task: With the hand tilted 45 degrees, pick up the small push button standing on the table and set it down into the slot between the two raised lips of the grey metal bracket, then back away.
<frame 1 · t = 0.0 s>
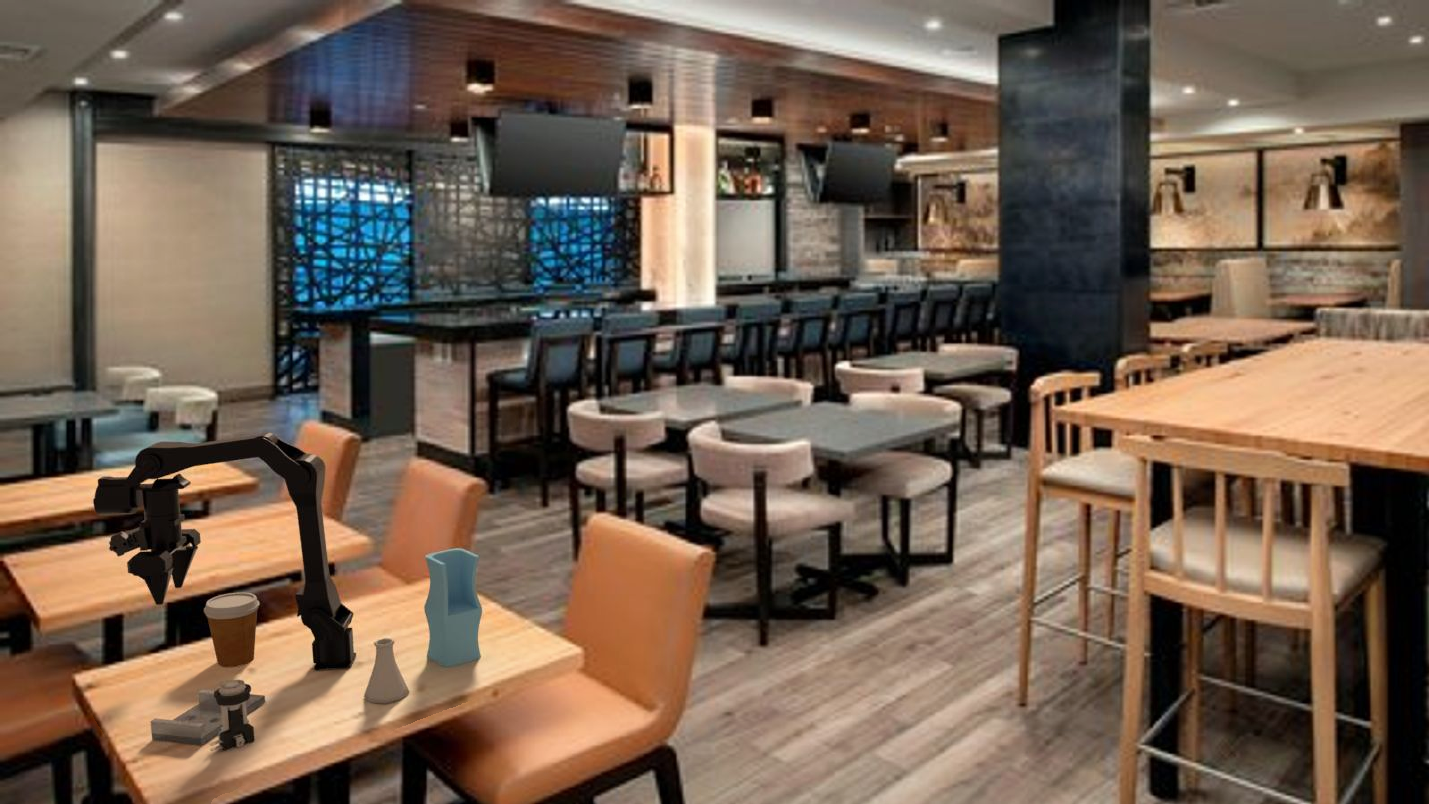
hand: (169, 595, 189), 15 cm above the table, tool pointing down, fingers open, 9 cm apart
disposable coffee cup: (236, 661, 197), on the table
bracket: (196, 730, 169), on the table
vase: (455, 657, 199), on the table
push button: (232, 747, 164), on the table
flask: (386, 697, 182), on the table
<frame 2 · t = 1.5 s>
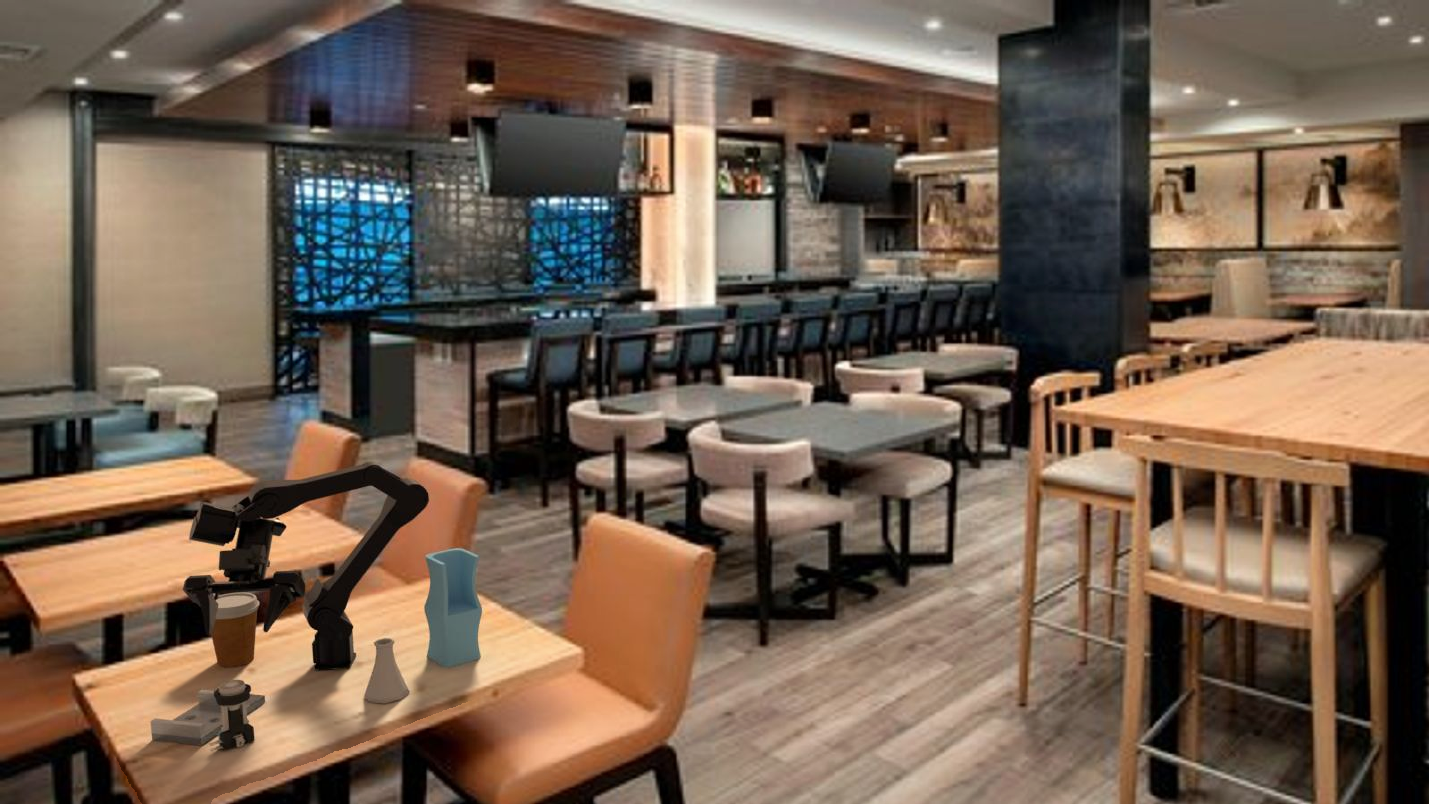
hand: (236, 633, 175), 13 cm above the table, tool tilted 45°, fingers open, 9 cm apart
nothing on the table moved.
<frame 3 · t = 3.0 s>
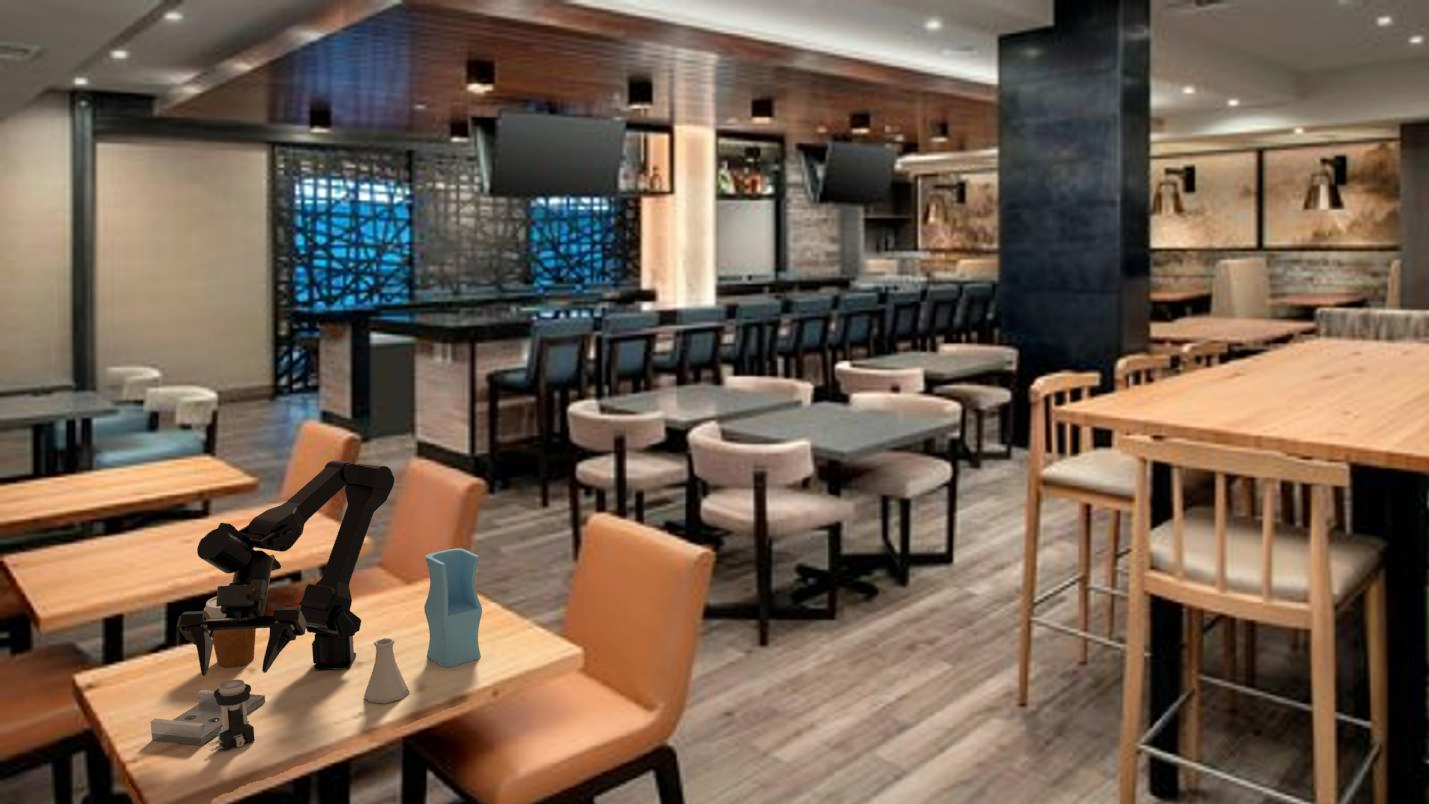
hand: (233, 673, 165), 10 cm above the table, tool tilted 45°, fingers open, 9 cm apart
nothing on the table moved.
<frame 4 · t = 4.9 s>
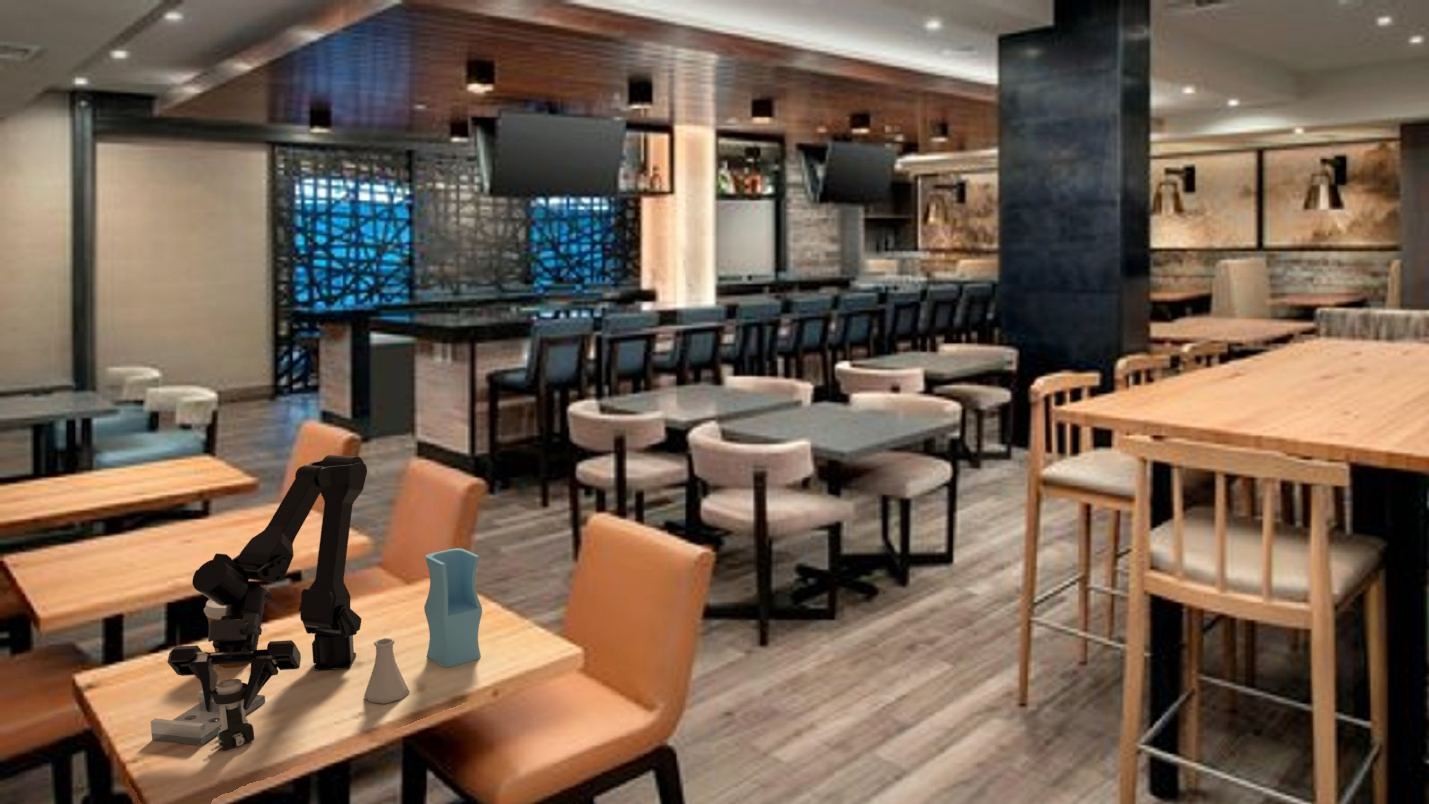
hand: (226, 710, 161), 7 cm above the table, tool tilted 45°, fingers closed on push button, 5 cm apart
push button: (232, 746, 163), on the table, touching gripper
everything else where it was.
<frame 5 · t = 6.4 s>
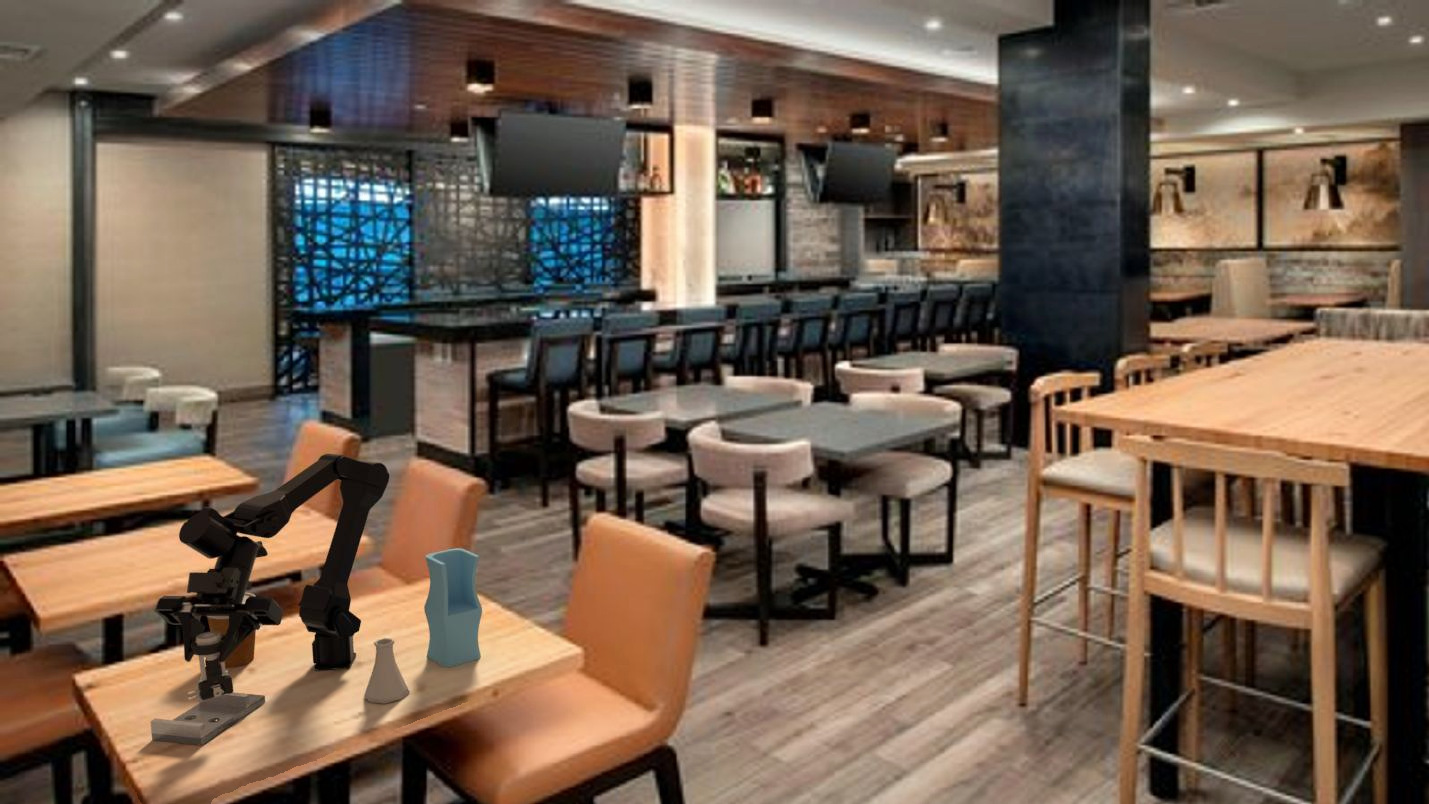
hand: (203, 661, 164), 13 cm above the table, tool tilted 45°, fingers closed on push button, 5 cm apart
push button: (212, 697, 166), point 6 cm above the table, touching gripper
everything else where it was.
when the fingers open (9 cm above the table, at t = 8.2 s): push button drops 1 cm, resting on bracket.
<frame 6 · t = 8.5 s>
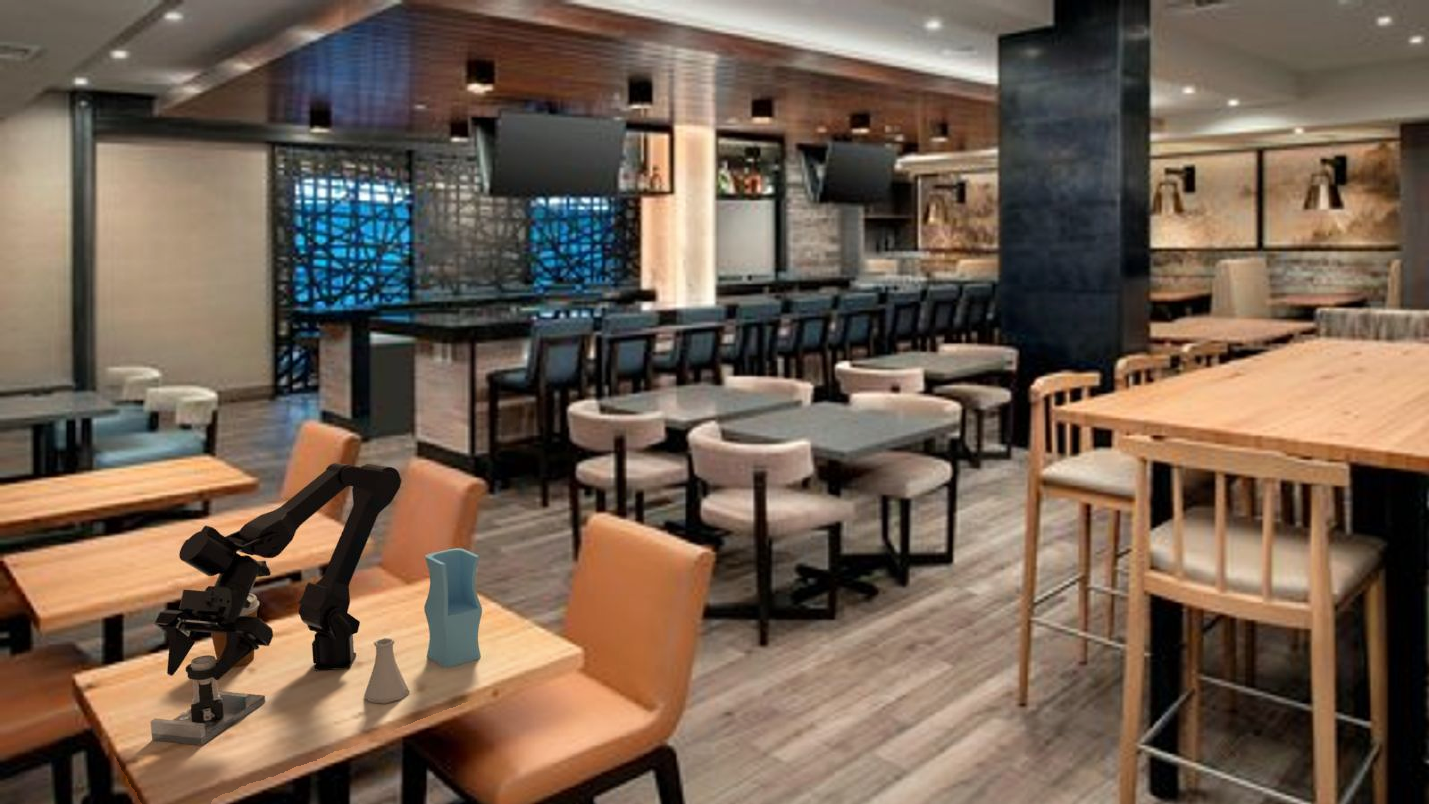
hand: (192, 676, 168), 9 cm above the table, tool tilted 45°, fingers open, 8 cm apart
push button: (203, 719, 170), point 1 cm above the table, touching bracket
everything else where it was.
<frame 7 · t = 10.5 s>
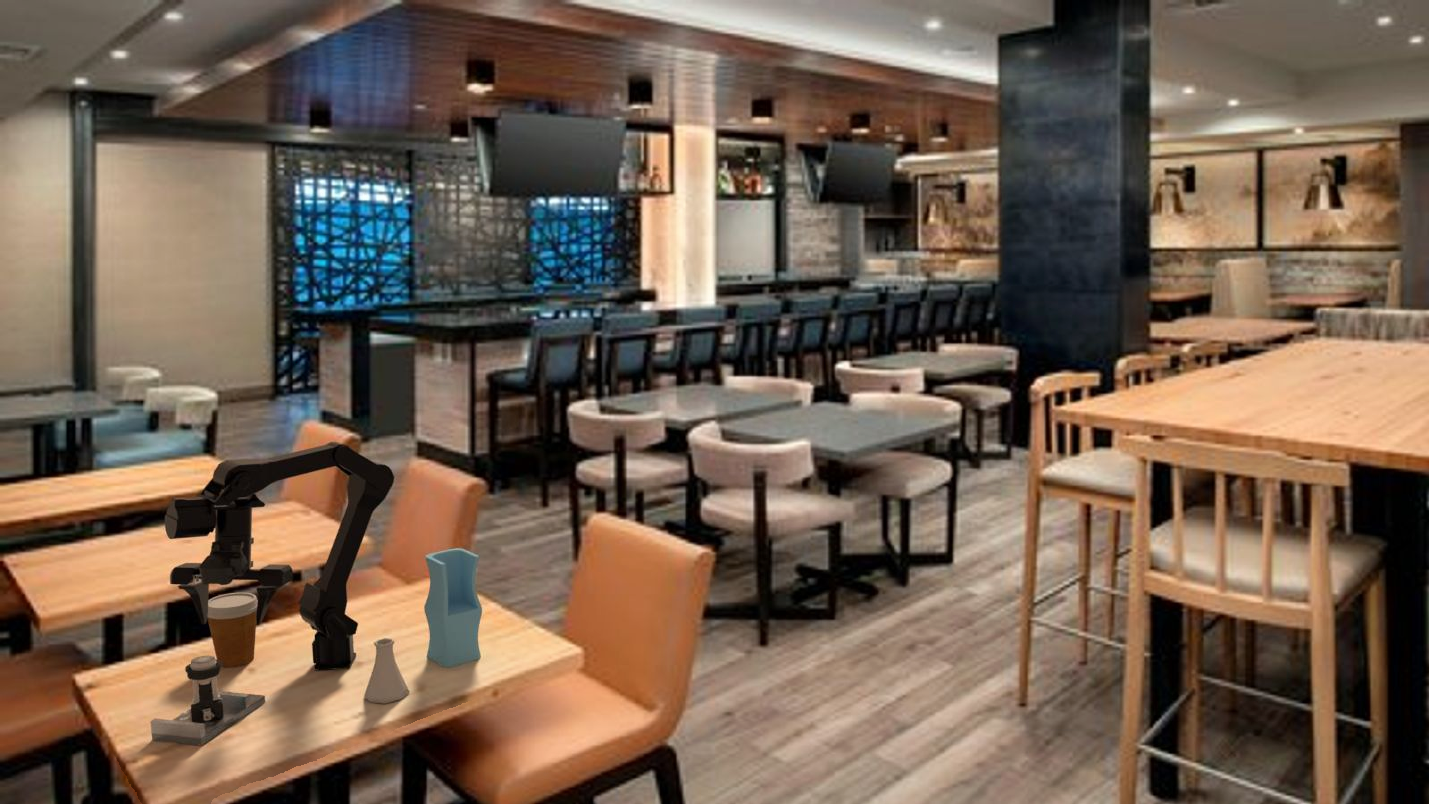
hand: (231, 624, 180), 13 cm above the table, tool pointing down, fingers open, 9 cm apart
nothing on the table moved.
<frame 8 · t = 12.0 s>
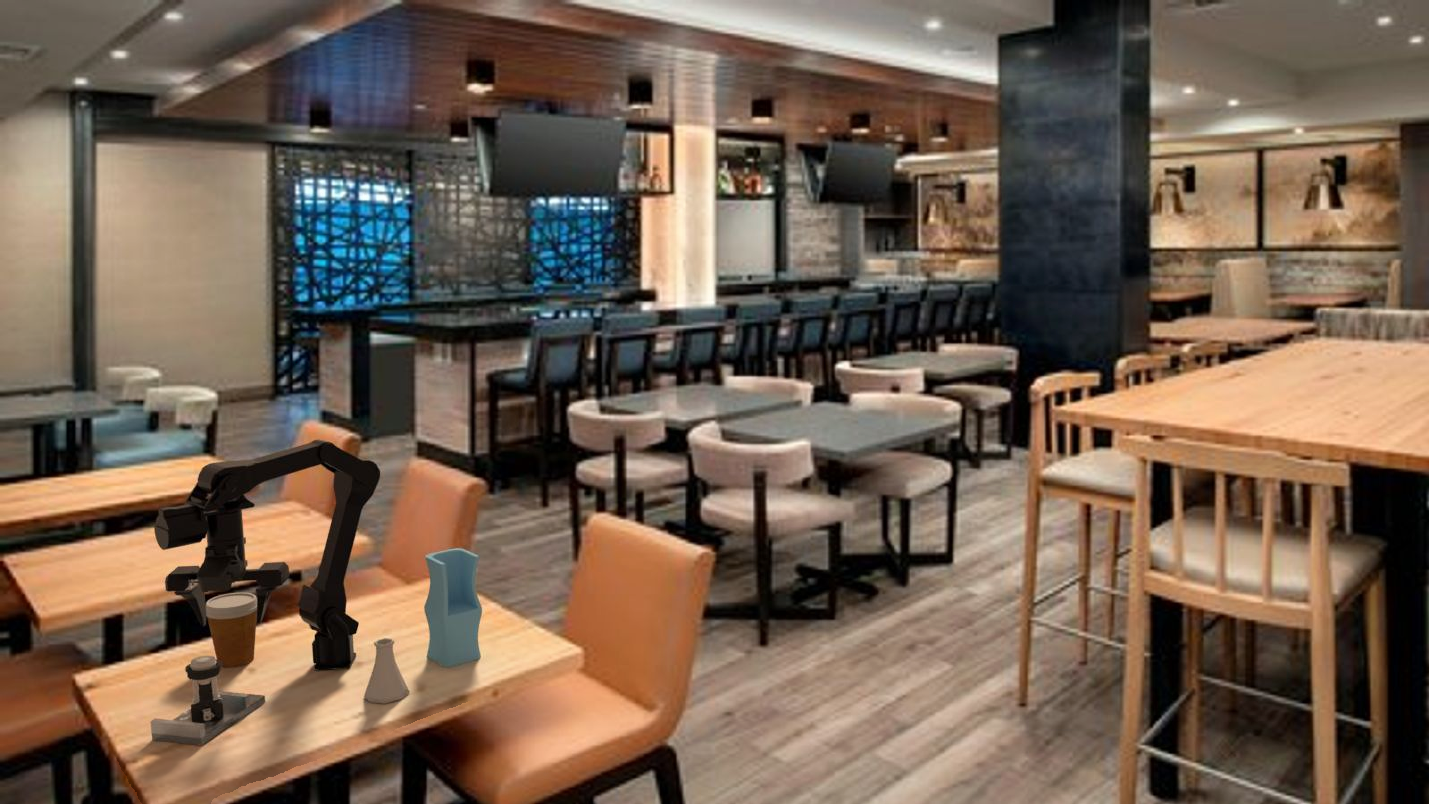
hand: (231, 624, 180), 13 cm above the table, tool pointing down, fingers open, 9 cm apart
nothing on the table moved.
at the end: push button inside the target area on the bracket (0.1 cm from its centre), point 1.0 cm above the bracket's base; push button tilted 0°; the gripper is holding nothing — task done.
